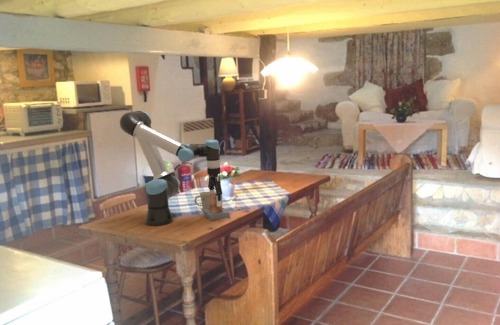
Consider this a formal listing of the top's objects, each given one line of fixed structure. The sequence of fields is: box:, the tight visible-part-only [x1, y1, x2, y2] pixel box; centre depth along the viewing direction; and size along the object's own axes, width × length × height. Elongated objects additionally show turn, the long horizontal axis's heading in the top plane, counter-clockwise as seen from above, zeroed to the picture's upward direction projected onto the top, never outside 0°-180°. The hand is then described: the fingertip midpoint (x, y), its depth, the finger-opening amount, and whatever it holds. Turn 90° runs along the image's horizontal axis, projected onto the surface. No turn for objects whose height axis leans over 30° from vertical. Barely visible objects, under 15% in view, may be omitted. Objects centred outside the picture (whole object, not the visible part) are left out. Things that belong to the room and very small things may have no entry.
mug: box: [194, 191, 210, 211], centre depth 291 cm, size 8×13×10 cm, turn 78°
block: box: [209, 192, 224, 213], centre depth 273 cm, size 6×6×10 cm
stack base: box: [203, 207, 231, 221], centre depth 274 cm, size 12×12×3 cm
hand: (215, 203), depth 273 cm, fingers open, 13 cm apart
